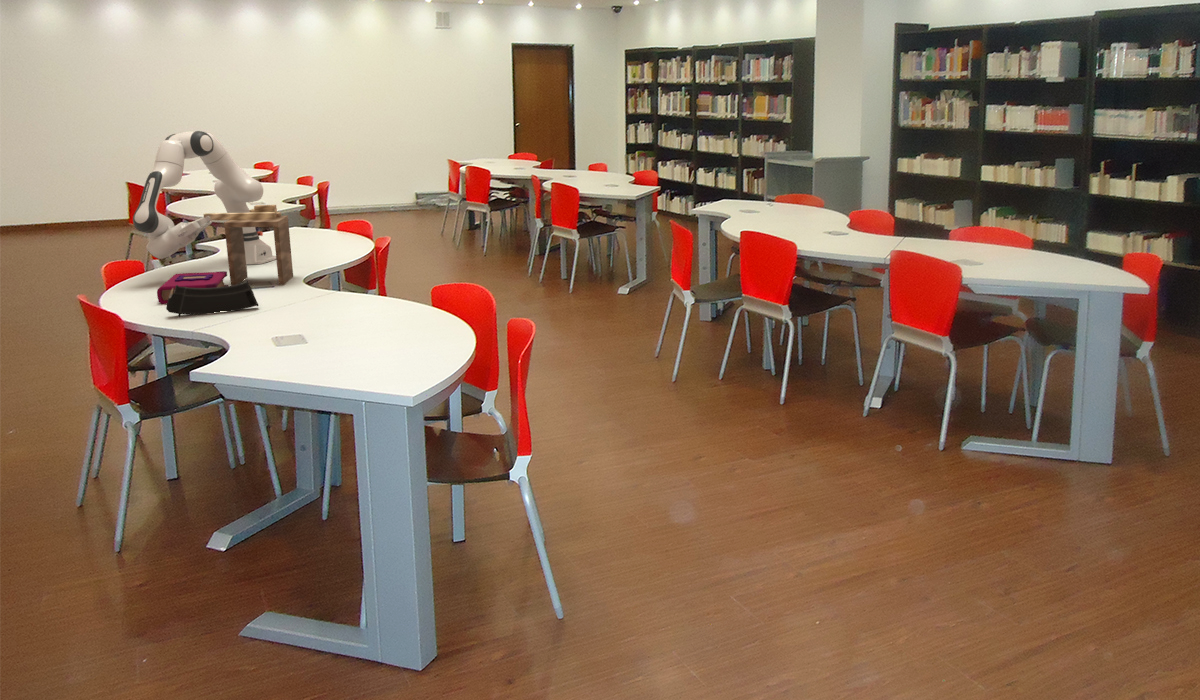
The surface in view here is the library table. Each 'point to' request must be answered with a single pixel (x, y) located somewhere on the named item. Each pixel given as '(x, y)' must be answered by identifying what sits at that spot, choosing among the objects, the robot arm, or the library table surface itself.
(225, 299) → the magazine
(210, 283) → the book
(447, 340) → the library table surface
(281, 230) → the rack
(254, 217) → the batten
